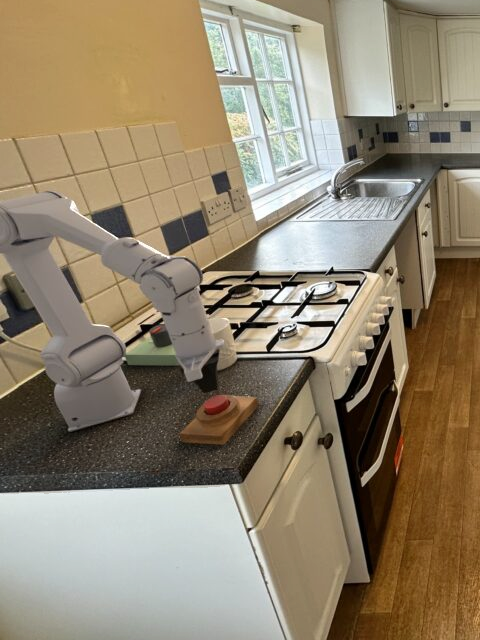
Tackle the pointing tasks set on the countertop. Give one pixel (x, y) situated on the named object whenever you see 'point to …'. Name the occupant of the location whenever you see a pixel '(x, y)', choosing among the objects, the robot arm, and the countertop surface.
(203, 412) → the button block
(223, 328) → the white cup
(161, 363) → the dial panel
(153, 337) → the dial
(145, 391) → the countertop surface
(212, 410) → the button
